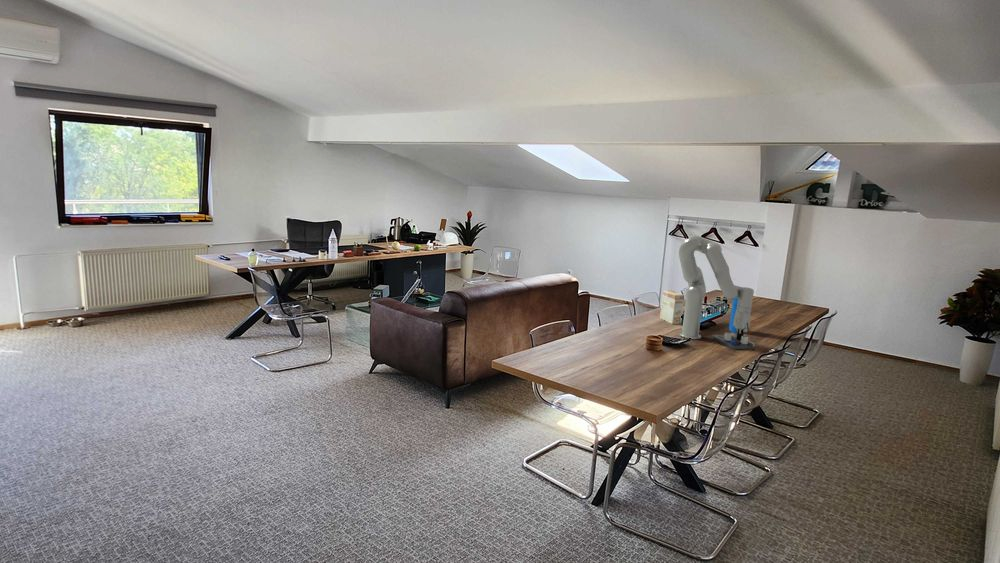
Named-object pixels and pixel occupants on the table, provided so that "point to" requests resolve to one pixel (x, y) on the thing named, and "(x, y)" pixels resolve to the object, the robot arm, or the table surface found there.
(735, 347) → the console
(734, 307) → the thermos
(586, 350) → the table surface
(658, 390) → the table surface
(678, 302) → the coffeecake box
